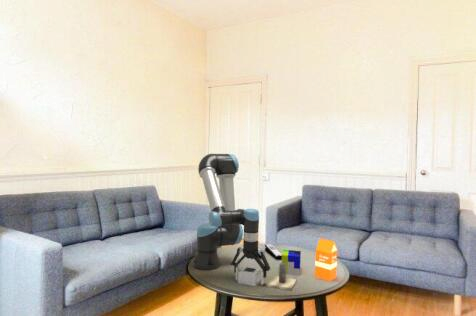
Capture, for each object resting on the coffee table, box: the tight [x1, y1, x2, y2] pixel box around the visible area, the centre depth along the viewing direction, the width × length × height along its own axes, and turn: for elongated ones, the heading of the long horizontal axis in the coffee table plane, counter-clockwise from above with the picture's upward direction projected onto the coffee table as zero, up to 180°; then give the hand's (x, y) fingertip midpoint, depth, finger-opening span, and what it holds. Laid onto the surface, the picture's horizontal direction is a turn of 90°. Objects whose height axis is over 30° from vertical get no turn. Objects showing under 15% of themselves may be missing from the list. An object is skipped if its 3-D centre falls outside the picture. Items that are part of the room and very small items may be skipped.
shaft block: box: [267, 262, 297, 292], centre depth 168 cm, size 12×12×10 cm
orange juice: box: [314, 238, 338, 282], centre depth 179 cm, size 8×9×20 cm
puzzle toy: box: [281, 249, 302, 276], centre depth 187 cm, size 10×10×10 cm
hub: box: [237, 265, 262, 287], centre depth 170 cm, size 9×9×6 cm
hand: (249, 281), depth 170 cm, fingers open, 13 cm apart
